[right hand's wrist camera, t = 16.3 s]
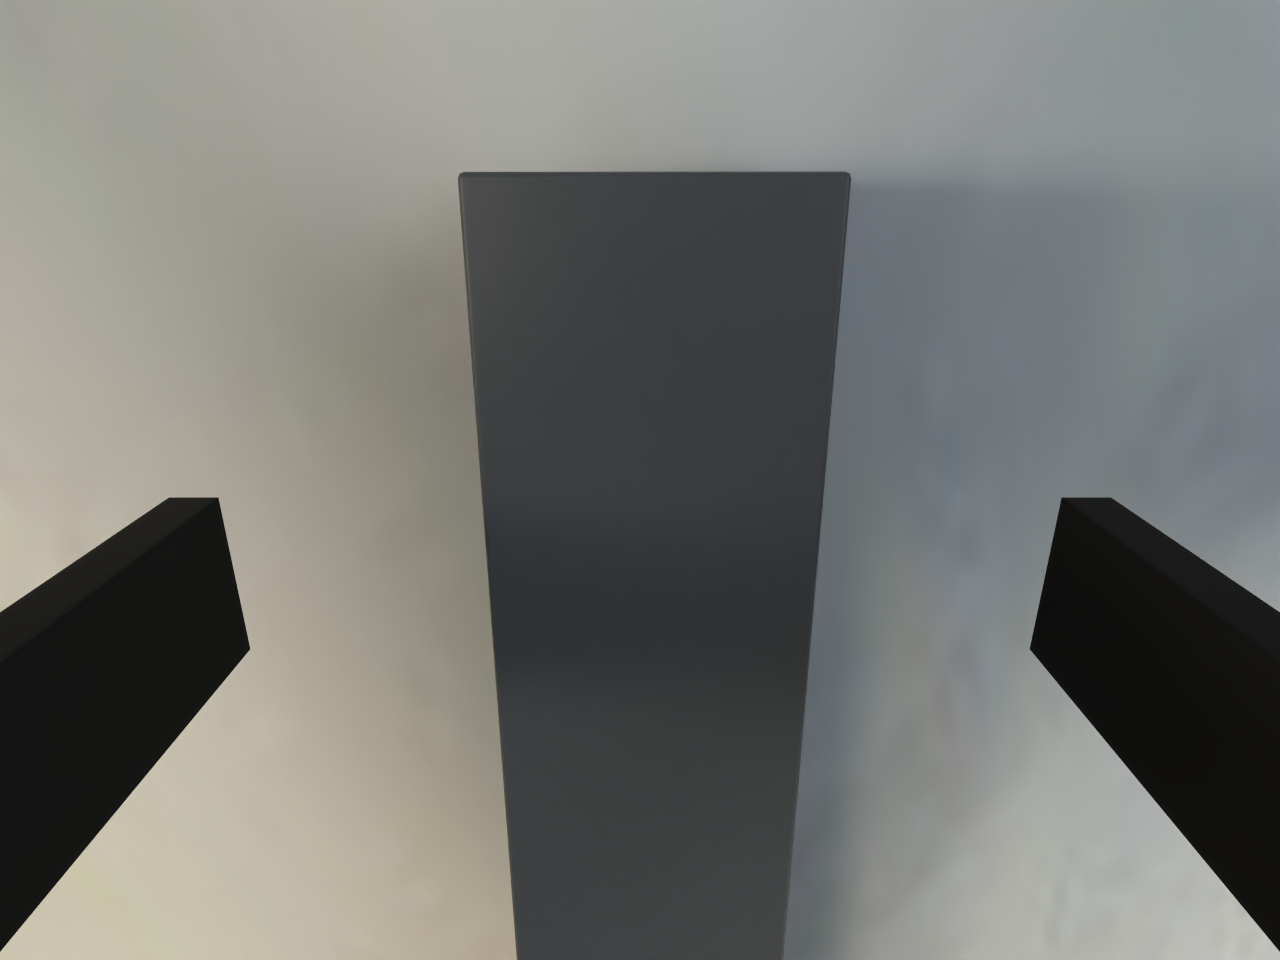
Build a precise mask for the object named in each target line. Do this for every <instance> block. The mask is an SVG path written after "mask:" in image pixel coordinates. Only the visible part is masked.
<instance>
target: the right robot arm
mask: <svg viewBox="0 0 1280 960" xmlns="http://www.w3.org/2000/svg"><path fill="white" fill-rule="evenodd" d="M249 650H250V646H249V641H248V636H247V632H246V627H245V622H244V617H243V613H242V608H241V603H240V598H239V594H238V589H237V584H236V580H235V575H234V570H233V565H232V561H231V556H230V551H229V546H228V542H227V537H226V532H225V527H224V523H223V518H222V513H221V508H220V504H219V499H218V498H168V499H166V500H165V501H163V502H162V503H160V504H159V505H158V506H156V507H155V508H153V509H152V510H150V511H149V512H147V513H146V514H144V515H143V516H141V517H140V518H138V519H137V520H135V521H134V522H133V523H131V524H130V525H128V526H127V527H125V528H124V529H122V530H121V531H119V532H118V533H116V534H115V535H113V536H112V537H110V538H109V539H108V540H106V541H105V542H103V543H102V544H100V545H99V546H97V547H96V548H94V549H93V550H91V551H90V552H88V553H87V554H85V555H84V556H83V557H81V558H80V559H78V560H77V561H75V562H74V563H72V564H71V565H69V566H68V567H66V568H65V569H63V570H62V571H60V572H59V573H58V574H56V575H55V576H53V577H52V578H50V579H49V580H47V581H46V582H44V583H43V584H41V585H40V586H38V587H37V588H35V589H34V590H33V591H31V592H30V593H28V594H27V595H25V596H24V597H22V598H21V599H19V600H18V601H16V602H15V603H13V604H12V605H10V606H9V607H7V608H6V609H5V610H3V611H2V612H0V951H1V950H2V949H3V948H4V946H5V945H6V944H7V943H8V941H9V940H10V939H11V938H12V937H13V935H14V934H15V933H16V932H17V931H18V929H19V928H20V927H21V926H22V925H23V923H24V922H25V921H26V920H27V918H28V917H29V916H30V915H31V914H32V912H33V911H34V910H35V909H36V908H37V906H38V905H39V904H40V903H41V902H42V900H43V899H44V898H45V897H46V895H47V894H48V893H49V892H50V891H51V889H52V888H53V887H54V886H55V885H56V883H57V882H58V881H59V880H60V879H61V877H62V876H63V875H64V874H65V873H66V871H67V870H68V869H69V868H70V866H71V865H72V864H73V863H74V862H75V860H76V859H77V858H78V857H79V856H80V854H81V853H82V852H83V851H84V850H85V848H86V847H87V846H88V845H89V843H90V842H91V841H92V840H93V839H94V837H95V836H96V835H97V834H98V833H99V831H100V830H101V829H102V828H103V827H104V825H105V824H106V823H107V822H108V820H109V819H110V818H111V817H112V816H113V814H114V813H115V812H116V811H117V810H118V808H119V807H120V806H121V805H122V804H123V802H124V801H125V800H126V799H127V797H128V796H129V795H130V794H131V793H132V791H133V790H134V789H135V788H136V787H137V785H138V784H139V783H140V782H141V781H142V779H143V778H144V777H145V776H146V775H147V773H148V772H149V771H150V770H151V768H152V767H153V766H154V765H155V764H156V762H157V761H158V760H159V759H160V758H161V756H162V755H163V754H164V753H165V752H166V750H167V749H168V748H169V747H170V745H171V744H172V743H173V742H174V741H175V739H176V738H177V737H178V736H179V735H180V733H181V732H182V731H183V730H184V729H185V727H186V726H187V725H188V724H189V722H190V721H191V720H192V719H193V718H194V716H195V715H196V714H197V713H198V712H199V710H200V709H201V708H202V707H203V706H204V704H205V703H206V702H207V701H208V699H209V698H210V697H211V696H212V695H213V693H214V692H215V691H216V690H217V689H218V687H219V686H220V685H221V684H222V683H223V681H224V680H225V679H226V678H227V677H228V675H229V674H230V673H231V672H232V670H233V669H234V668H235V667H236V666H237V664H238V663H239V662H240V661H241V660H242V658H243V657H244V656H245V655H246V654H247V652H248V651H249ZM1030 650H1031V651H1032V652H1033V654H1034V655H1035V656H1036V657H1037V658H1038V660H1039V661H1040V662H1041V663H1042V664H1043V666H1044V667H1045V668H1046V669H1047V670H1048V672H1049V673H1050V674H1051V675H1052V677H1053V678H1054V679H1055V680H1056V681H1057V683H1058V684H1059V685H1060V686H1061V687H1062V689H1063V690H1064V691H1065V692H1066V693H1067V695H1068V696H1069V697H1070V698H1071V699H1072V701H1073V702H1074V703H1075V704H1076V706H1077V707H1078V708H1079V709H1080V710H1081V712H1082V713H1083V714H1084V715H1085V716H1086V718H1087V719H1088V720H1089V721H1090V722H1091V724H1092V725H1093V726H1094V727H1095V729H1096V730H1097V731H1098V732H1099V733H1100V735H1101V736H1102V737H1103V738H1104V739H1105V741H1106V742H1107V743H1108V744H1109V745H1110V747H1111V748H1112V749H1113V750H1114V752H1115V753H1116V754H1117V755H1118V756H1119V758H1120V759H1121V760H1122V761H1123V762H1124V764H1125V765H1126V766H1127V767H1128V768H1129V770H1130V771H1131V772H1132V773H1133V775H1134V776H1135V777H1136V778H1137V779H1138V781H1139V782H1140V783H1141V784H1142V785H1143V787H1144V788H1145V789H1146V790H1147V791H1148V793H1149V794H1150V795H1151V796H1152V797H1153V799H1154V800H1155V801H1156V802H1157V804H1158V805H1159V806H1160V807H1161V808H1162V810H1163V811H1164V812H1165V813H1166V814H1167V816H1168V817H1169V818H1170V819H1171V820H1172V822H1173V823H1174V824H1175V825H1176V827H1177V828H1178V829H1179V830H1180V831H1181V833H1182V834H1183V835H1184V836H1185V837H1186V839H1187V840H1188V841H1189V842H1190V843H1191V845H1192V846H1193V847H1194V848H1195V850H1196V851H1197V852H1198V853H1199V854H1200V856H1201V857H1202V858H1203V859H1204V860H1205V862H1206V863H1207V864H1208V865H1209V866H1210V868H1211V869H1212V870H1213V871H1214V873H1215V874H1216V875H1217V876H1218V877H1219V879H1220V880H1221V881H1222V882H1223V883H1224V885H1225V886H1226V887H1227V888H1228V889H1229V891H1230V892H1231V893H1232V894H1233V895H1234V897H1235V898H1236V899H1237V900H1238V902H1239V903H1240V904H1241V905H1242V906H1243V908H1244V909H1245V910H1246V911H1247V912H1248V914H1249V915H1250V916H1251V917H1252V918H1253V920H1254V921H1255V922H1256V923H1257V925H1258V926H1259V927H1260V928H1261V929H1262V931H1263V932H1264V933H1265V934H1266V935H1267V937H1268V938H1269V939H1270V940H1271V941H1272V943H1273V944H1274V945H1275V946H1276V948H1277V949H1278V950H1279V951H1280V612H1278V611H1277V610H1275V609H1274V608H1272V607H1271V606H1270V605H1268V604H1267V603H1265V602H1264V601H1262V600H1261V599H1259V598H1258V597H1256V596H1255V595H1253V594H1252V593H1250V592H1249V591H1247V590H1246V589H1245V588H1243V587H1242V586H1240V585H1239V584H1237V583H1236V582H1234V581H1233V580H1231V579H1230V578H1228V577H1227V576H1225V575H1224V574H1222V573H1221V572H1220V571H1218V570H1217V569H1215V568H1214V567H1212V566H1211V565H1209V564H1208V563H1206V562H1205V561H1203V560H1202V559H1200V558H1199V557H1197V556H1196V555H1195V554H1193V553H1192V552H1190V551H1189V550H1187V549H1186V548H1184V547H1183V546H1181V545H1180V544H1178V543H1177V542H1175V541H1174V540H1172V539H1171V538H1170V537H1168V536H1167V535H1165V534H1164V533H1162V532H1161V531H1159V530H1158V529H1156V528H1155V527H1153V526H1152V525H1150V524H1149V523H1147V522H1146V521H1145V520H1143V519H1142V518H1140V517H1139V516H1137V515H1136V514H1134V513H1133V512H1131V511H1130V510H1128V509H1127V508H1125V507H1124V506H1122V505H1121V504H1120V503H1118V502H1117V501H1115V500H1114V499H1112V498H1062V499H1061V504H1060V508H1059V513H1058V518H1057V523H1056V527H1055V532H1054V537H1053V542H1052V546H1051V551H1050V556H1049V561H1048V565H1047V570H1046V575H1045V579H1044V584H1043V589H1042V594H1041V598H1040V603H1039V608H1038V613H1037V617H1036V622H1035V627H1034V632H1033V636H1032V641H1031V646H1030Z"/></svg>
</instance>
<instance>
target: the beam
mask: <svg viewBox="0 0 1280 960" xmlns="http://www.w3.org/2000/svg"><path fill="white" fill-rule="evenodd" d="M458 185H459V198H460V211H461V225H462V238H463V251H464V264H465V278H466V291H467V304H468V317H469V331H470V344H471V357H472V370H473V384H474V397H475V410H476V423H477V436H478V450H479V463H480V476H481V489H482V503H483V516H484V529H485V542H486V556H487V569H488V582H489V595H490V609H491V622H492V635H493V648H494V661H495V675H496V688H497V701H498V714H499V728H500V741H501V754H502V767H503V781H504V794H505V807H506V820H507V834H508V847H509V860H510V873H511V886H512V900H513V913H514V926H515V939H516V953H517V960H783V952H784V941H785V929H786V918H787V907H788V895H789V884H790V872H791V861H792V849H793V838H794V826H795V815H796V804H797V792H798V781H799V769H800V758H801V746H802V735H803V723H804V712H805V701H806V689H807V678H808V666H809V655H810V643H811V632H812V620H813V609H814V598H815V586H816V575H817V563H818V552H819V540H820V529H821V517H822V506H823V495H824V483H825V472H826V460H827V449H828V437H829V426H830V414H831V403H832V392H833V380H834V369H835V357H836V346H837V334H838V323H839V311H840V300H841V289H842V277H843V266H844V254H845V243H846V231H847V220H848V208H849V197H850V186H851V176H850V174H849V173H847V172H463V173H460V174H459V177H458Z"/></svg>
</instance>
